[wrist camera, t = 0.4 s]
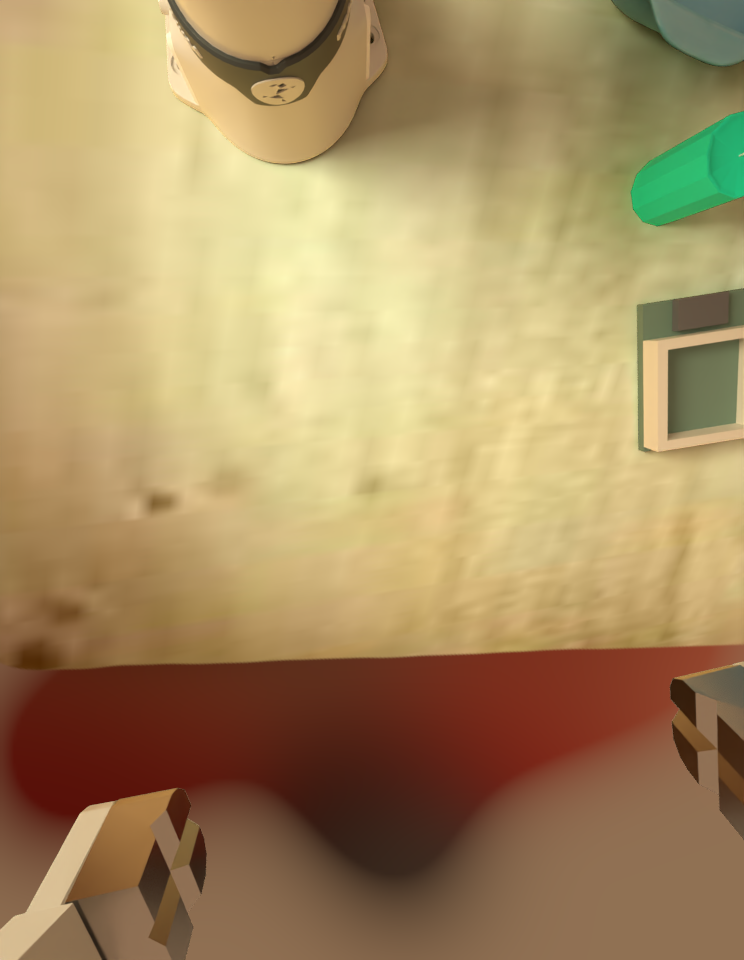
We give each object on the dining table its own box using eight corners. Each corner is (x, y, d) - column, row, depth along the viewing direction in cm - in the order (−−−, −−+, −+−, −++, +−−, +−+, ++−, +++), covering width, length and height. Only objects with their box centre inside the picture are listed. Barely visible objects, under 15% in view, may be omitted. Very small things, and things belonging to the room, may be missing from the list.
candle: (704, 178, 49) (816, 129, 38) (667, 238, 51) (764, 208, 39) (655, 143, 48) (755, 81, 37) (618, 205, 49) (703, 163, 38)
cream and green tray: (637, 305, 52) (657, 302, 49) (743, 288, 52) (771, 284, 49) (638, 449, 56) (657, 456, 53) (737, 433, 56) (762, 439, 53)
